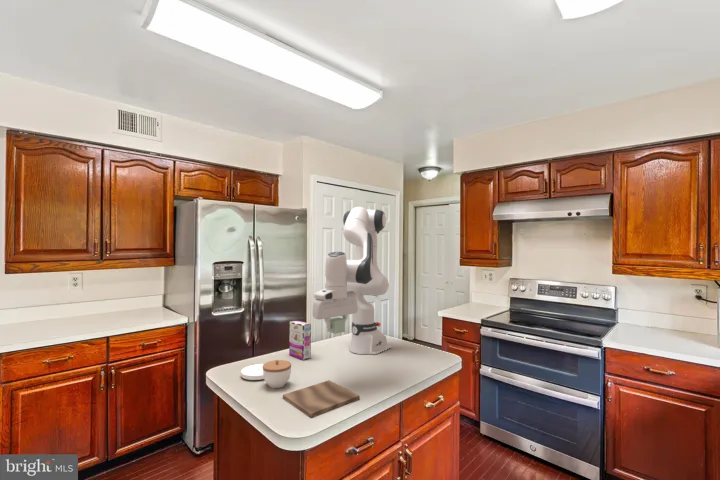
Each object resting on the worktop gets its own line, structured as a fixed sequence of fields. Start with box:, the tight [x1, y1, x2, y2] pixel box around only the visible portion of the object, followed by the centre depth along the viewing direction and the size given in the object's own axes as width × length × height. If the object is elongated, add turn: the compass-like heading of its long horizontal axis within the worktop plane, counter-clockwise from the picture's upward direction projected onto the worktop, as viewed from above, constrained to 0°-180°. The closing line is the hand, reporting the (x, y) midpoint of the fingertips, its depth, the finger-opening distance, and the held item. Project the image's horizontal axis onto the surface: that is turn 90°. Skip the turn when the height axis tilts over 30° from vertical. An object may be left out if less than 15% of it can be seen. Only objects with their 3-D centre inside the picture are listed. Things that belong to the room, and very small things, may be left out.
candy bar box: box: [288, 320, 312, 361], centre depth 167 cm, size 11×5×16 cm, turn 47°
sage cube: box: [326, 316, 346, 335], centre depth 139 cm, size 5×5×5 cm
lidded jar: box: [263, 359, 292, 389], centre depth 134 cm, size 11×11×9 cm
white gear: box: [240, 363, 265, 381], centre depth 144 cm, size 14×14×2 cm
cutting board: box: [282, 380, 360, 418], centre depth 122 cm, size 20×18×1 cm
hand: (336, 327), depth 139 cm, fingers closed on sage cube, 5 cm apart
